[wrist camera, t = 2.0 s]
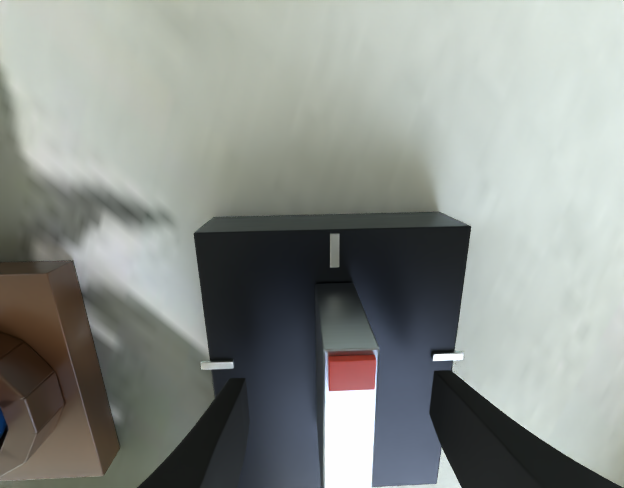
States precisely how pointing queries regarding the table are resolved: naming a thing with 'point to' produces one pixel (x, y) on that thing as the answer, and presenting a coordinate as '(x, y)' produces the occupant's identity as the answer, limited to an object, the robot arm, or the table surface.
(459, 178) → the table surface
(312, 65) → the table surface
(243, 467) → the tap deck
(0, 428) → the button
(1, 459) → the button block
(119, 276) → the table surface
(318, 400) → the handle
